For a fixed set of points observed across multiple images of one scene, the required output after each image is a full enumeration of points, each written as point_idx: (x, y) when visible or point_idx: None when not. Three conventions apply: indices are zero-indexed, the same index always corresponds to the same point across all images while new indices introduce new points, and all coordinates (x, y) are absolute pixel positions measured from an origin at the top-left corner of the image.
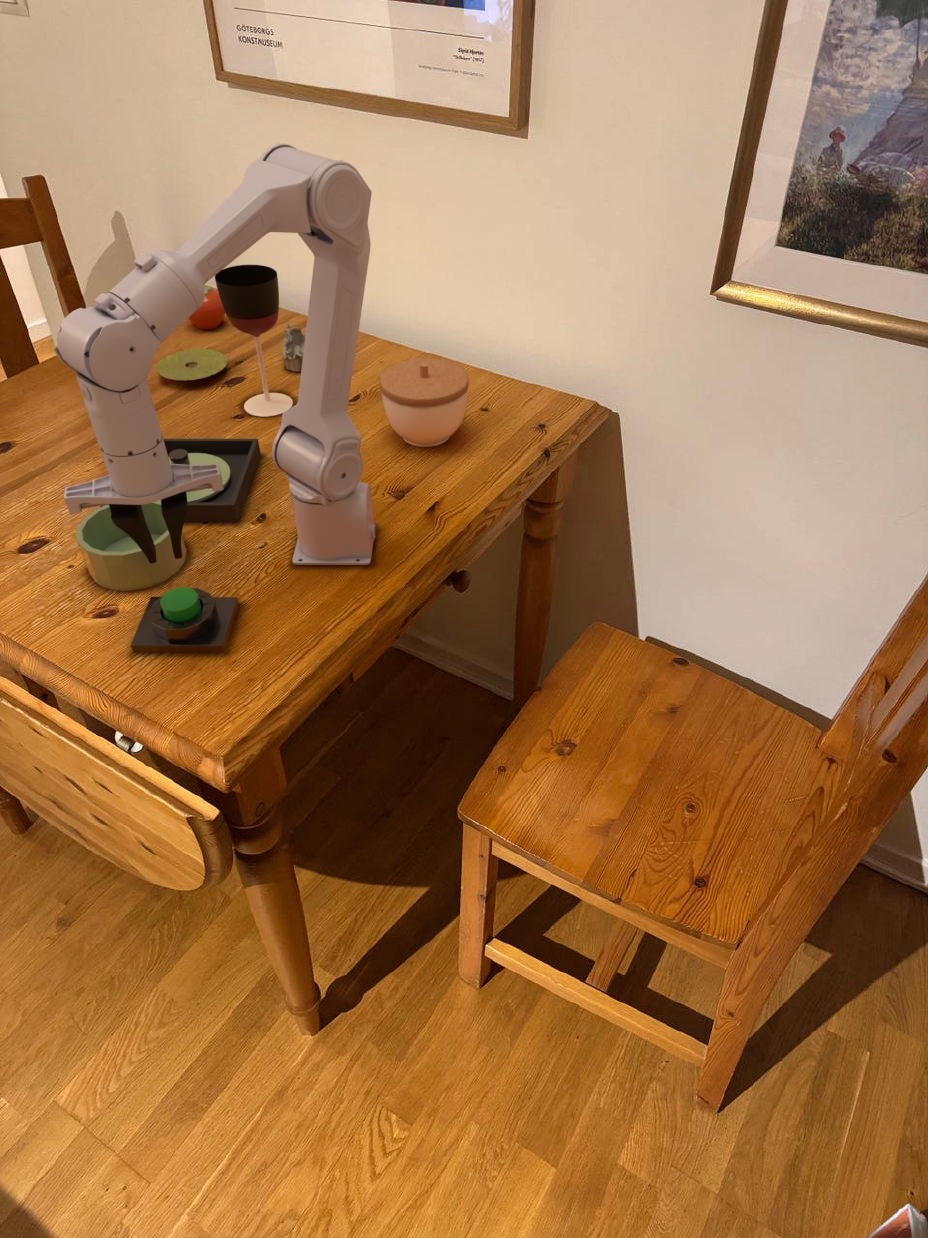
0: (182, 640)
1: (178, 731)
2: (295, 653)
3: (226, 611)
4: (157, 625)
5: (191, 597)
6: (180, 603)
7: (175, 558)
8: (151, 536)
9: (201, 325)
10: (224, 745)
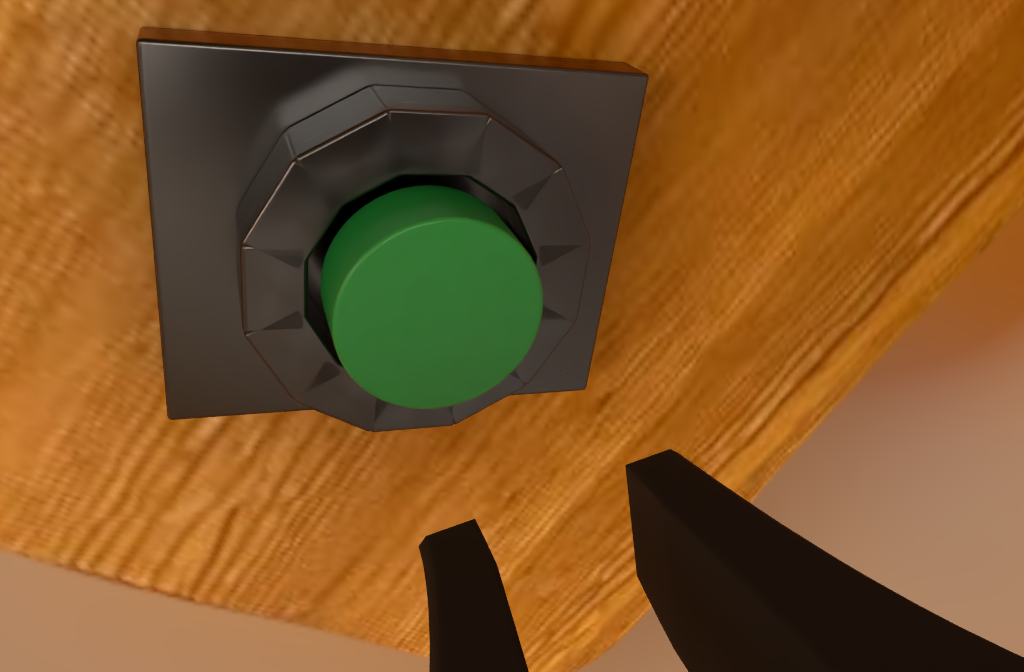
0: None
1: None
2: (803, 349)
3: (597, 186)
4: (322, 410)
5: (511, 308)
6: (457, 355)
7: (641, 582)
8: (507, 602)
9: None
10: (581, 668)
